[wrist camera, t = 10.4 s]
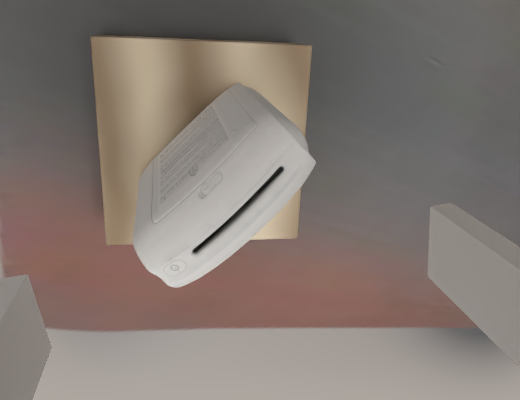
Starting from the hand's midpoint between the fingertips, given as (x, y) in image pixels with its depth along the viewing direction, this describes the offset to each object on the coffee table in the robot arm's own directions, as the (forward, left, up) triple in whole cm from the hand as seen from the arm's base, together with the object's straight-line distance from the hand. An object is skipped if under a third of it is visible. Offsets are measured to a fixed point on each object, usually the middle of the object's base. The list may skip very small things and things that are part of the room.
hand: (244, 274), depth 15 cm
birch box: (0, 0, -24) cm, 24 cm away
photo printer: (0, 0, -18) cm, 18 cm away
